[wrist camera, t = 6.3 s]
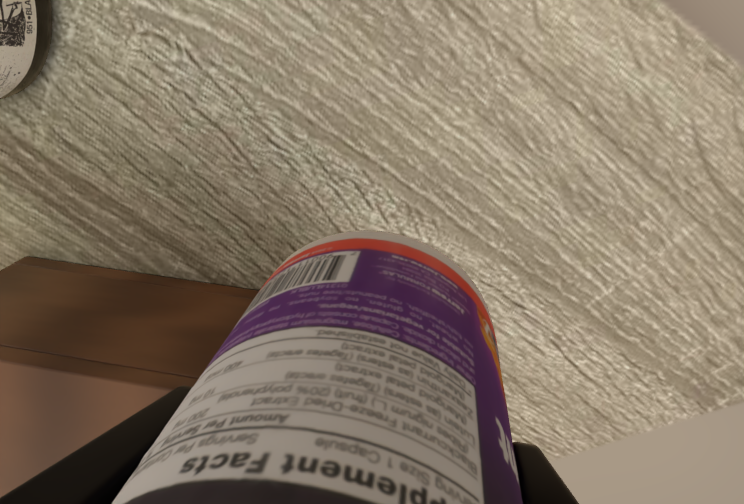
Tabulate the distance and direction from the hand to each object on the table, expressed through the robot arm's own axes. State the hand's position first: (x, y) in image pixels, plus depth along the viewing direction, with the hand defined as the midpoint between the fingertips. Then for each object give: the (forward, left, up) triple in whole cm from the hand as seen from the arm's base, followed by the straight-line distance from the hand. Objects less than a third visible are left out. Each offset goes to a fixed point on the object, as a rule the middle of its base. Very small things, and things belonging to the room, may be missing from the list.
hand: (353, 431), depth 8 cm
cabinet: (-12, +13, -13) cm, 21 cm away
